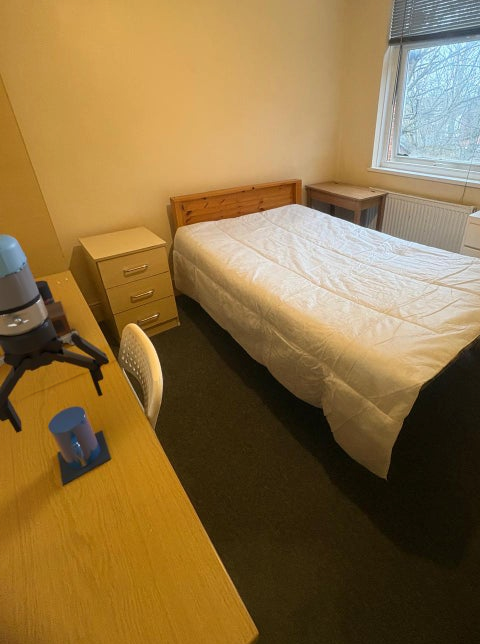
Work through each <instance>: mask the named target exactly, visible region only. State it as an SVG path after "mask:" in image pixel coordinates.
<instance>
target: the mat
mask: <svg viewBox="0 0 480 644" xmlns="http://www.w3.org/2000/svg"><path fill="white" fill-rule="evenodd" d="M94 434H95V436H96V438H97V441H98V443H99V446H100V452H99V455H98V456H97V458H96V459H95V460H94V461H93V462H92V463H91V464H89V465H88V466H86V467H84V468H81V469H71V468H69V467H68V466H67V464H66V462H65V460H64V458H63V456H62V454H61V452H60V450H59V451H57V458H58V464H59V470H60V476H61V477H60V478H61V484H62V486H65V485H67V484H69V483H72V482H73V481H74V480H76V479H78V478H80V477H82V476H84V475H85V474H87V473H89V472H91V471H93V470H94V469H96V468H99V467H100V466H101V465H103V464H105V463H107V462H109V461H111V460H112V458H111V454H110V451H109V447H108V444H107V440H106V438H105V434H104V430H99V431H97V432H94Z"/></svg>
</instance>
